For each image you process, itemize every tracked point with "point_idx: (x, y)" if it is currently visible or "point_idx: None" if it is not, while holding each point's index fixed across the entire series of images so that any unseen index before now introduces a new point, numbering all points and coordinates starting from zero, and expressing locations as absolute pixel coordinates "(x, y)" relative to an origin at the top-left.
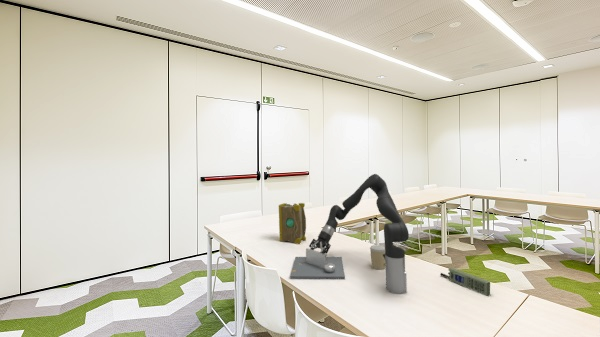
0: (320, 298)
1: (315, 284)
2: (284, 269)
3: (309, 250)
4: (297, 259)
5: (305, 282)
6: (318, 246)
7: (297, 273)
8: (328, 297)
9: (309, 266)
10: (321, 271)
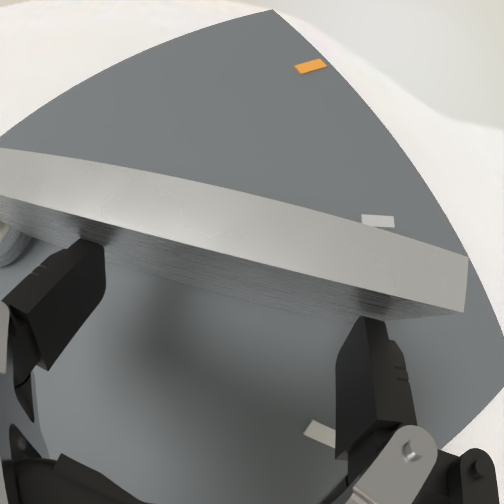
0: (44, 7)
1: (82, 50)
2: (425, 122)
3: (330, 225)
4: (475, 325)
5: (148, 33)
6: (122, 500)
7: (253, 47)
8: (16, 28)
9: None
10: None
